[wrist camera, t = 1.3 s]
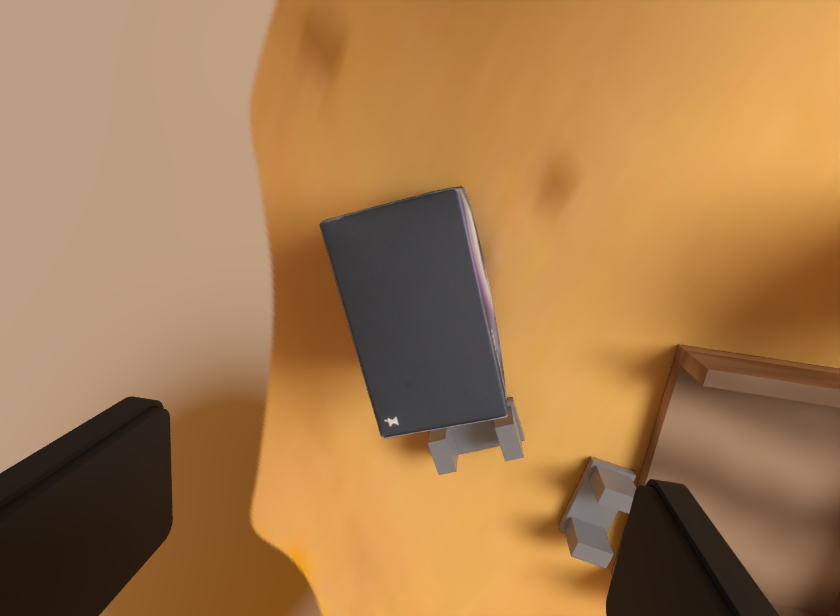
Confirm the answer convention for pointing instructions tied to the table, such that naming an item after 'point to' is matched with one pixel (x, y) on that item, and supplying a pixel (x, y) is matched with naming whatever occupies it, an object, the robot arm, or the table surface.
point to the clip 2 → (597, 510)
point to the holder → (759, 467)
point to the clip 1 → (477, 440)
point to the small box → (419, 312)
